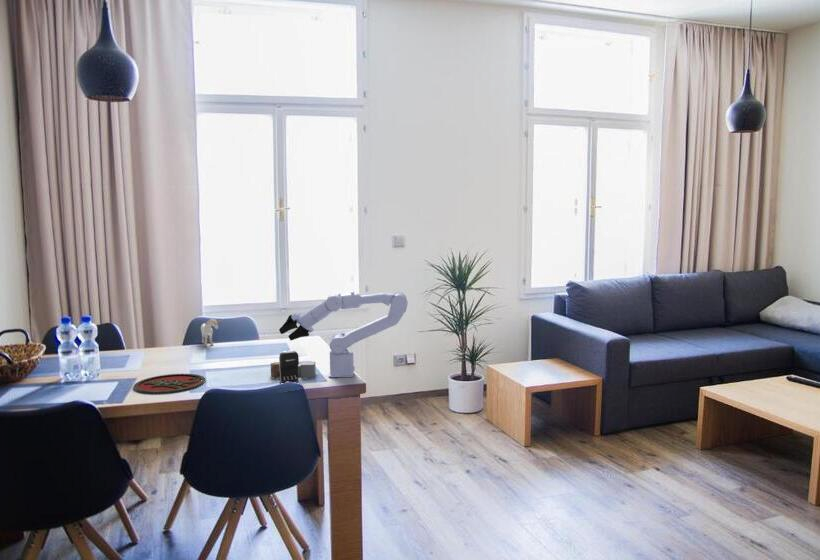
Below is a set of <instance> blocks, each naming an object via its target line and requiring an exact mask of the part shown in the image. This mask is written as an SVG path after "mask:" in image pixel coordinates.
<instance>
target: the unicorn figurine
mask: <svg viewBox="0 0 820 560" xmlns="http://www.w3.org/2000/svg"><path fill="white" fill-rule="evenodd" d="M225 320H226V319H225V318H224V319H220V320H217V318H216V319H214V318H213V319H208V320H207V321H206V322H204V323H202V324H201V326H200V332H201V337H202V338H201V344H202V345H203V346H204V347H207V346H208V339H209V343H210V346H214V342H213V333H214V331H213V328H212V327H214V329H215V330H218V329H219V325H218V323H221V322H222V321H225Z"/></svg>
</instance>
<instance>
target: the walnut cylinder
mask: <svg viewBox="0 0 820 560" xmlns="http://www.w3.org/2000/svg"><path fill="white" fill-rule="evenodd" d="M270 377H271V378H272V377H274V378H273V379H280V378H279V377H280V366H279V361H276V362H275V361H274V362H270Z"/></svg>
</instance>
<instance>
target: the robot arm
mask: <svg viewBox="0 0 820 560" xmlns="http://www.w3.org/2000/svg"><path fill="white" fill-rule="evenodd" d="M408 303H409V302H408V299H407V296H406V294H405V293H403V292H399V291H397V292H393V291H392V292H390V291H389V292H380V293H373V294H366V295H365V294H364V295H360V294H359V293H358V292H355V291H351V292H350V293H345V294H344V293H343V294H342V293H338V295H337V294H331V295H329V296H328V297H327V298H326V300H325V299H324V300H322V301H321V302H320V303H318V304H317V305H315V306H313V307H312V308H310V309H309V310H308V311H305V313H303V314H301V313H299V314H297V313H294V314H290V315H288V317H287V319H286V320H285V322H284V323H283V325H282V326H281V327H280V328H279V329H278V331H279V333H280V334H281V335H283V334H285V333H287V332H289V331H291V330H294V329H295V330H294V331H292V332H291V333H290V334H289V335H288V336H287V337H288V339H289V340H290V341H294V340H296V339H300V338H305V337H309V336H310V333H312V332H314V328H313V326H314V325H317V323H319V322H320V321H322V320H323V319H325V318H327V317H328V316H329V315H330V314H332V313H333V312H337V311H339V310H340V309H341V310H348V309H359V308H360V307H361V306H362V305H364V304H365V305H367V304H384V305H385V306H388V307H389V310H388V313H387V315H383V316H381V317H380V318H377V319H375V320H373V321H371V322H368V323H366V324H364V325H362V326H359V327H357V328H355V329H352V330H350V331H345V332H343V333H341V332H337V333H335V334H334V335H333V336H332V337H331V340H330V342H329V349H330V350H329V373H328V376H327V377H328V378H352V377H354V374H355V366H354V363H355V362H354V361H355V360H354V359H355V358H354V357H355V356H354V354H355V353H354V352H350V351H349V349H348V348H350V347H351V346H352V345H354V344H356V343H358V342H360V341H363V340H365V339H367V338H369V337H371V336H374V335H376V334H378V333H380V332H383V331H386V330H387V329H389V328H392V327H395V326H397V325H398V323H399V322H400V320H401V319H402V317H403V316H404V315H405V313H407V308H408ZM297 324H299V325H297ZM353 372H354V373H353Z"/></svg>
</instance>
